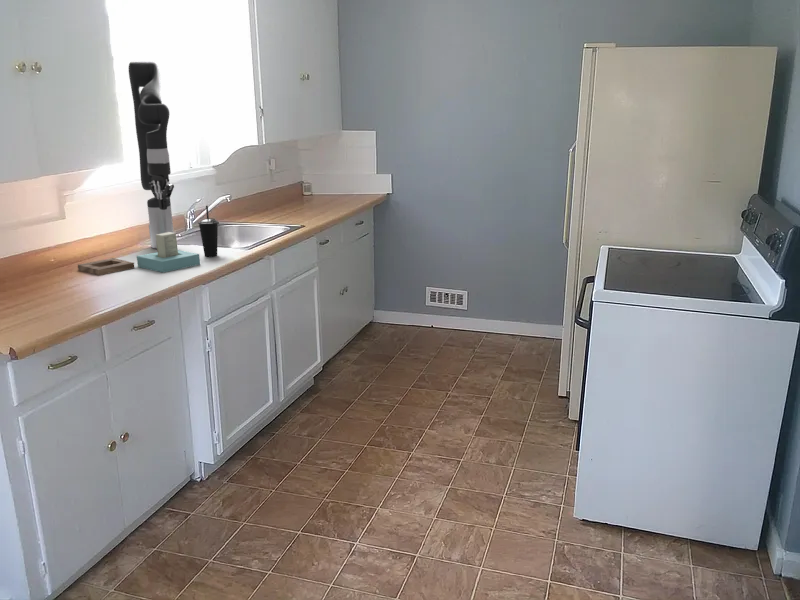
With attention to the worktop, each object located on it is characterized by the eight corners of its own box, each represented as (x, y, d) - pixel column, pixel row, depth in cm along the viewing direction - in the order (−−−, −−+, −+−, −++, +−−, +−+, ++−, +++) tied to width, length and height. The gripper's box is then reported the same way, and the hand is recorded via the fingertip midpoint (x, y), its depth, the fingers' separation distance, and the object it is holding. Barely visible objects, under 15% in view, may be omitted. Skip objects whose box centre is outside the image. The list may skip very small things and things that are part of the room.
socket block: (137, 266, 260) (136, 256, 259) (174, 259, 272) (173, 249, 271) (163, 272, 250) (162, 261, 249) (200, 264, 263) (199, 253, 262)
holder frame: (78, 270, 255) (77, 264, 255) (113, 263, 266) (113, 258, 266) (98, 275, 247) (98, 269, 247) (134, 268, 258) (133, 262, 257)
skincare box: (172, 263, 265) (169, 231, 262) (179, 264, 262) (176, 232, 259) (158, 266, 260) (154, 234, 257) (165, 267, 258) (162, 235, 254)
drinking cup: (201, 258, 273) (196, 207, 267) (201, 254, 280) (196, 204, 274) (221, 257, 274) (217, 206, 269) (220, 253, 282) (216, 203, 276)
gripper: (138, 161, 252) (143, 209, 257) (160, 163, 244) (165, 212, 249) (156, 159, 257) (161, 206, 262) (178, 161, 250) (183, 209, 254)
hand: (163, 209), depth 255 cm, fingers closed
